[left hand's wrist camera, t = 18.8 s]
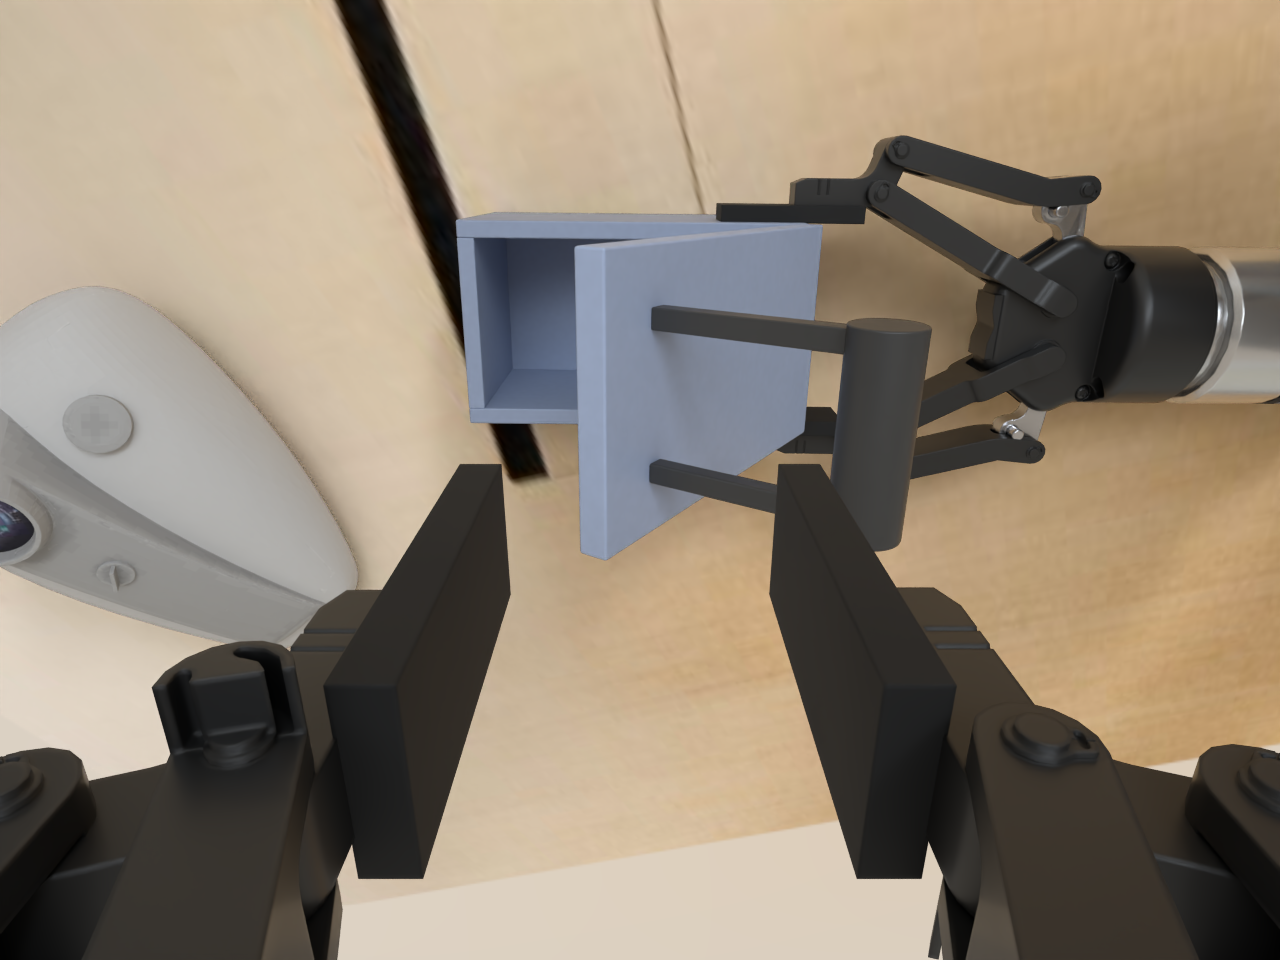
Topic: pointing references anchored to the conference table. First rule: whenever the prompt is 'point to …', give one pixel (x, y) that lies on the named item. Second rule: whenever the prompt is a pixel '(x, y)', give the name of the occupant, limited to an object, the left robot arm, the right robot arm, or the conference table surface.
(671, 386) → the lid
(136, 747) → the conference table surface
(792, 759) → the conference table surface
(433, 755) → the left robot arm
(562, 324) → the chest
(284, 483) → the projector
